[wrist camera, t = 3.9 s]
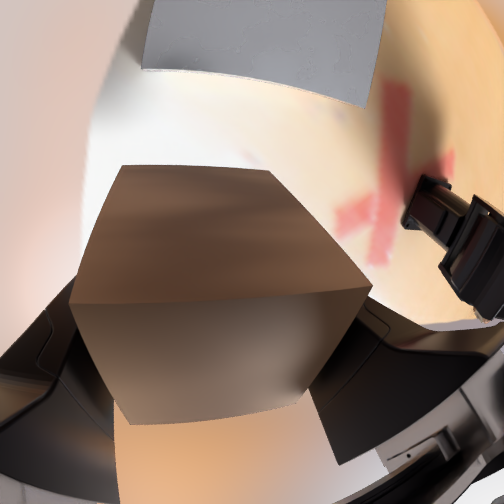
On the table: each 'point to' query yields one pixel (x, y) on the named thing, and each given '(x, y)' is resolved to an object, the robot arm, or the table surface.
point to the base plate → (271, 42)
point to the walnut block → (210, 293)
